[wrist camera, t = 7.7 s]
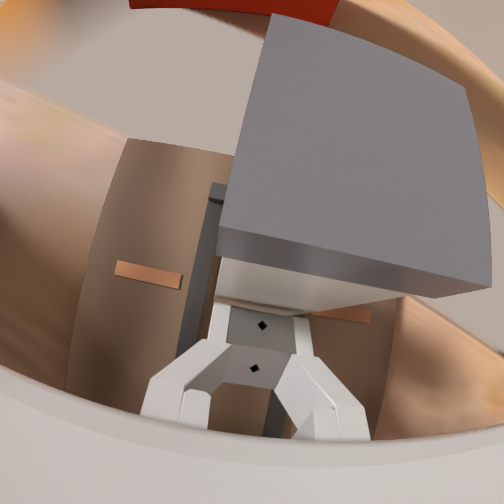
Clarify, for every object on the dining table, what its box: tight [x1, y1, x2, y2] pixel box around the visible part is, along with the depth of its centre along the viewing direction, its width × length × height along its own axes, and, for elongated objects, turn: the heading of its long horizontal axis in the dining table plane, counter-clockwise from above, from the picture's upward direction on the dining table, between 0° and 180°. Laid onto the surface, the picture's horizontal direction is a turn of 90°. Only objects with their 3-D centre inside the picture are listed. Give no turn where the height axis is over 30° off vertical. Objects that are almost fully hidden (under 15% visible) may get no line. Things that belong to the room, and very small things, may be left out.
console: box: [64, 138, 397, 441], centre depth 14 cm, size 16×22×4 cm
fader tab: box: [213, 13, 492, 316], centre depth 9 cm, size 3×3×12 cm
